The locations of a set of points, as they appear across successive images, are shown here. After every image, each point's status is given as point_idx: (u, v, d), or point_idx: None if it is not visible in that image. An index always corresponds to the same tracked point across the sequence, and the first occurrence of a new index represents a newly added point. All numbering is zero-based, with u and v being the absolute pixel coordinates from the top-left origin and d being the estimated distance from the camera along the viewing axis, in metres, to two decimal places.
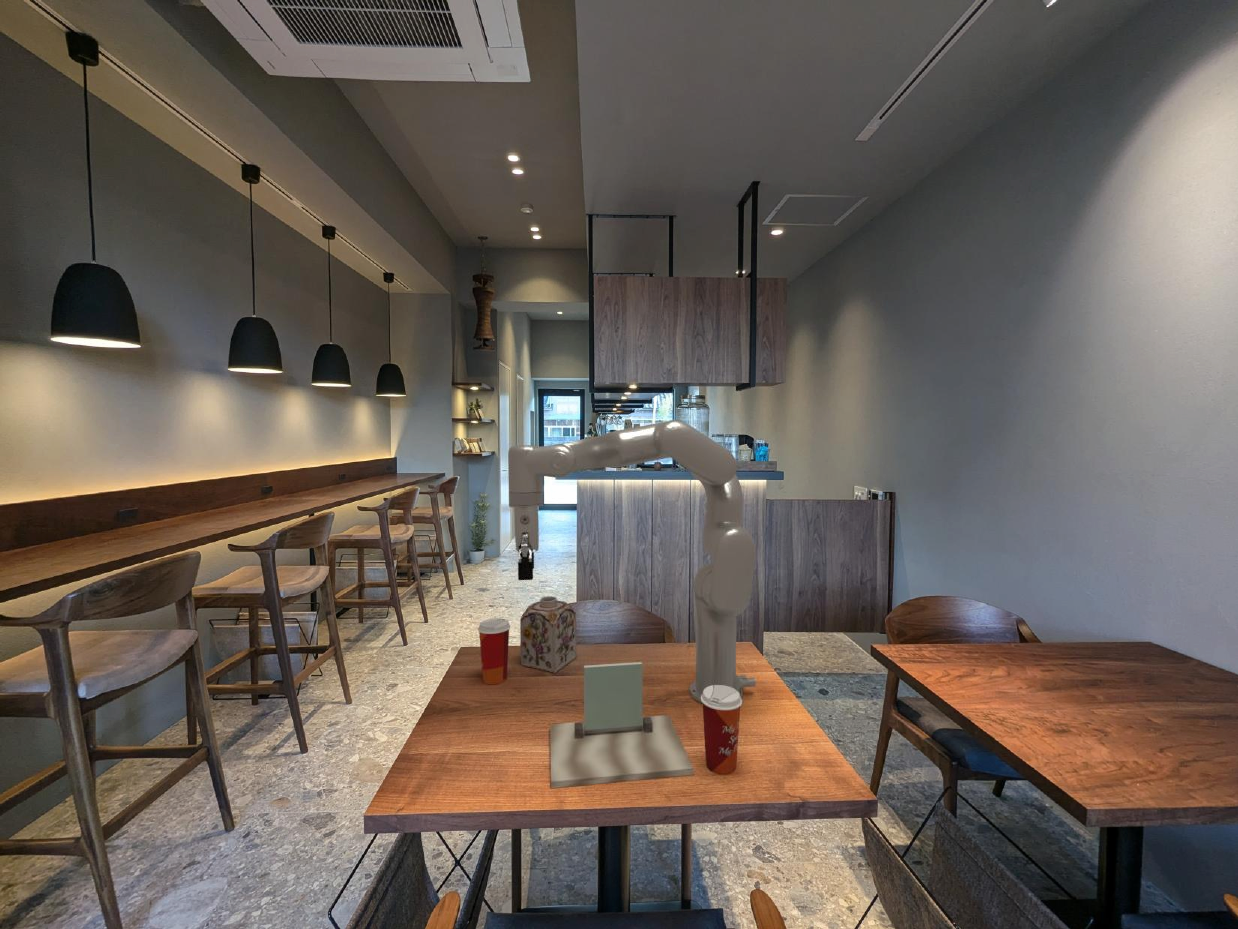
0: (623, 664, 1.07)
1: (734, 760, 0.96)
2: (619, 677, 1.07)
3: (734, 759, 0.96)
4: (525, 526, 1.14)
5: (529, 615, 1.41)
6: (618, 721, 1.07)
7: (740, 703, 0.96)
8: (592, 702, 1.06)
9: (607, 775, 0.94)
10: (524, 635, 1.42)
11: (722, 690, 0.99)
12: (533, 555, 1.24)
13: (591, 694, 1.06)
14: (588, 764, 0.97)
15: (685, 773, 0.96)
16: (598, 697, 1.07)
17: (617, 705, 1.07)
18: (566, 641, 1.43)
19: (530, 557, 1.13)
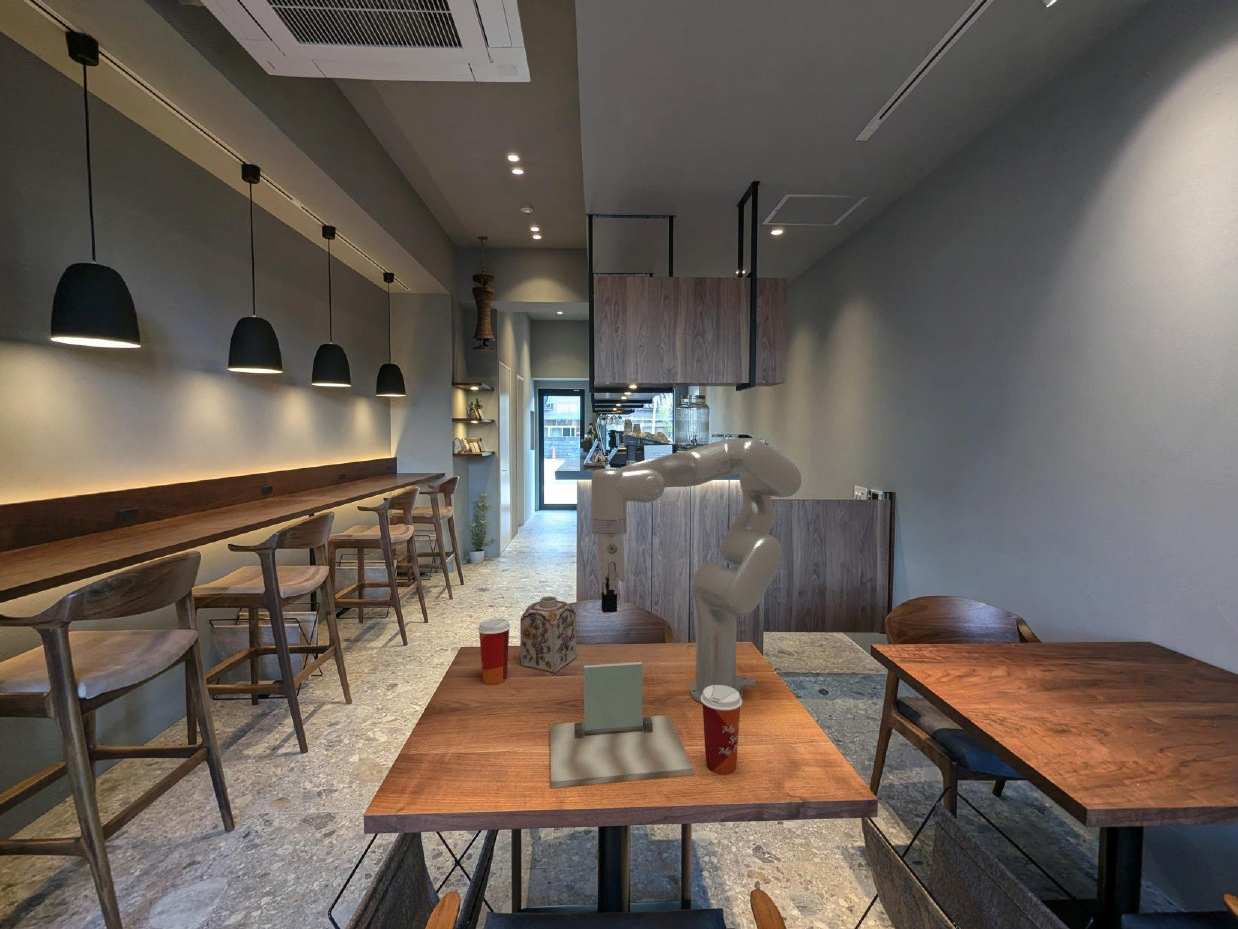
0: (623, 664, 1.07)
1: (734, 760, 0.96)
2: (619, 677, 1.07)
3: (734, 759, 0.96)
4: (612, 556, 1.07)
5: (529, 615, 1.41)
6: (618, 721, 1.07)
7: (740, 703, 0.96)
8: (592, 702, 1.06)
9: (607, 775, 0.94)
10: (524, 635, 1.42)
11: (722, 690, 0.99)
12: None
13: (591, 694, 1.06)
14: (588, 764, 0.97)
15: (685, 773, 0.96)
16: (598, 697, 1.07)
17: (617, 705, 1.07)
18: (566, 641, 1.43)
19: (615, 591, 1.10)
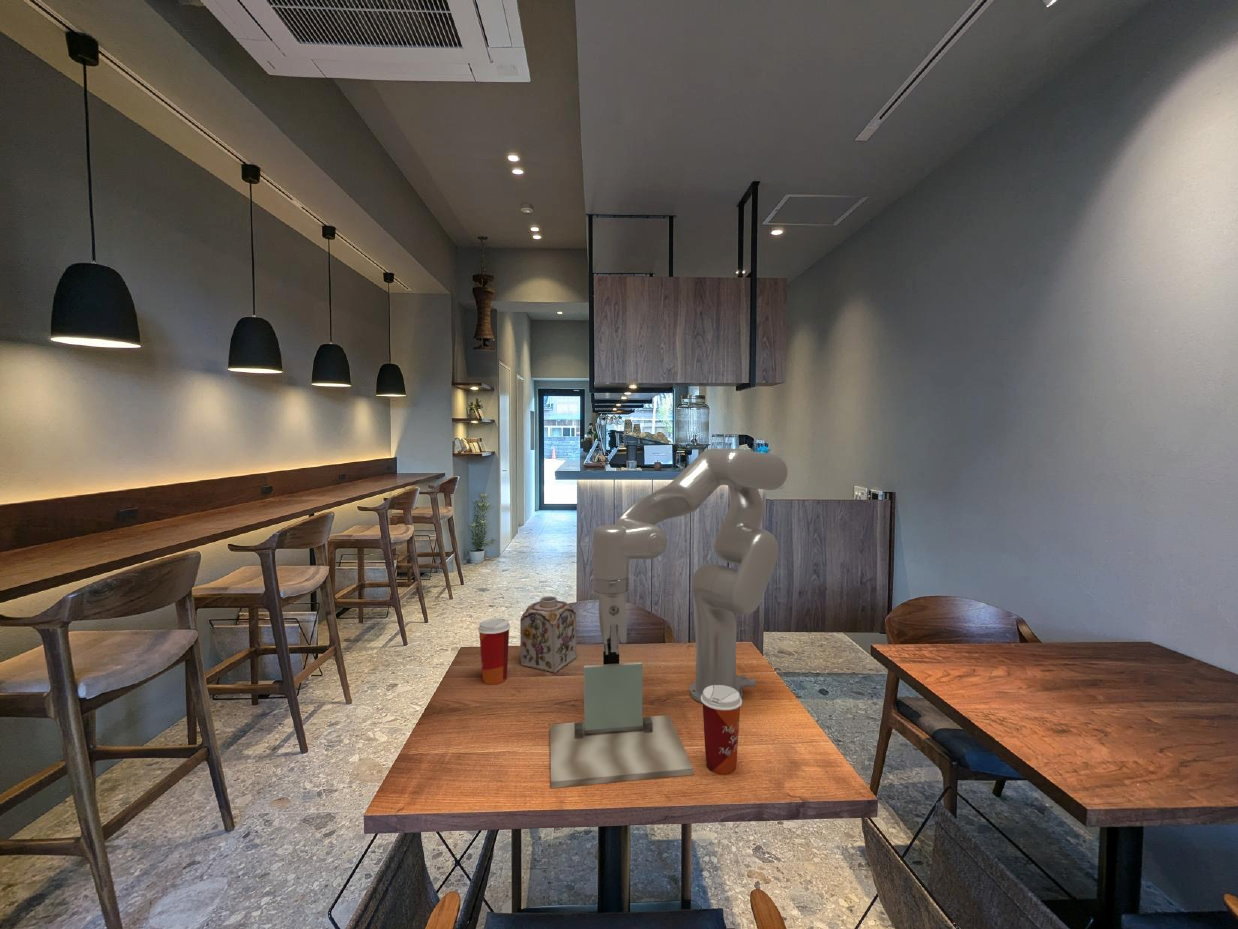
0: (623, 664, 1.07)
1: (734, 760, 0.96)
2: (619, 677, 1.07)
3: (734, 759, 0.96)
4: (614, 617, 1.04)
5: (529, 615, 1.41)
6: (618, 721, 1.07)
7: (740, 703, 0.96)
8: (592, 702, 1.06)
9: (607, 775, 0.94)
10: (524, 635, 1.42)
11: (722, 690, 0.99)
12: None
13: (591, 694, 1.06)
14: (588, 764, 0.97)
15: (685, 773, 0.96)
16: (598, 697, 1.07)
17: (617, 705, 1.07)
18: (566, 641, 1.43)
19: (617, 651, 1.08)
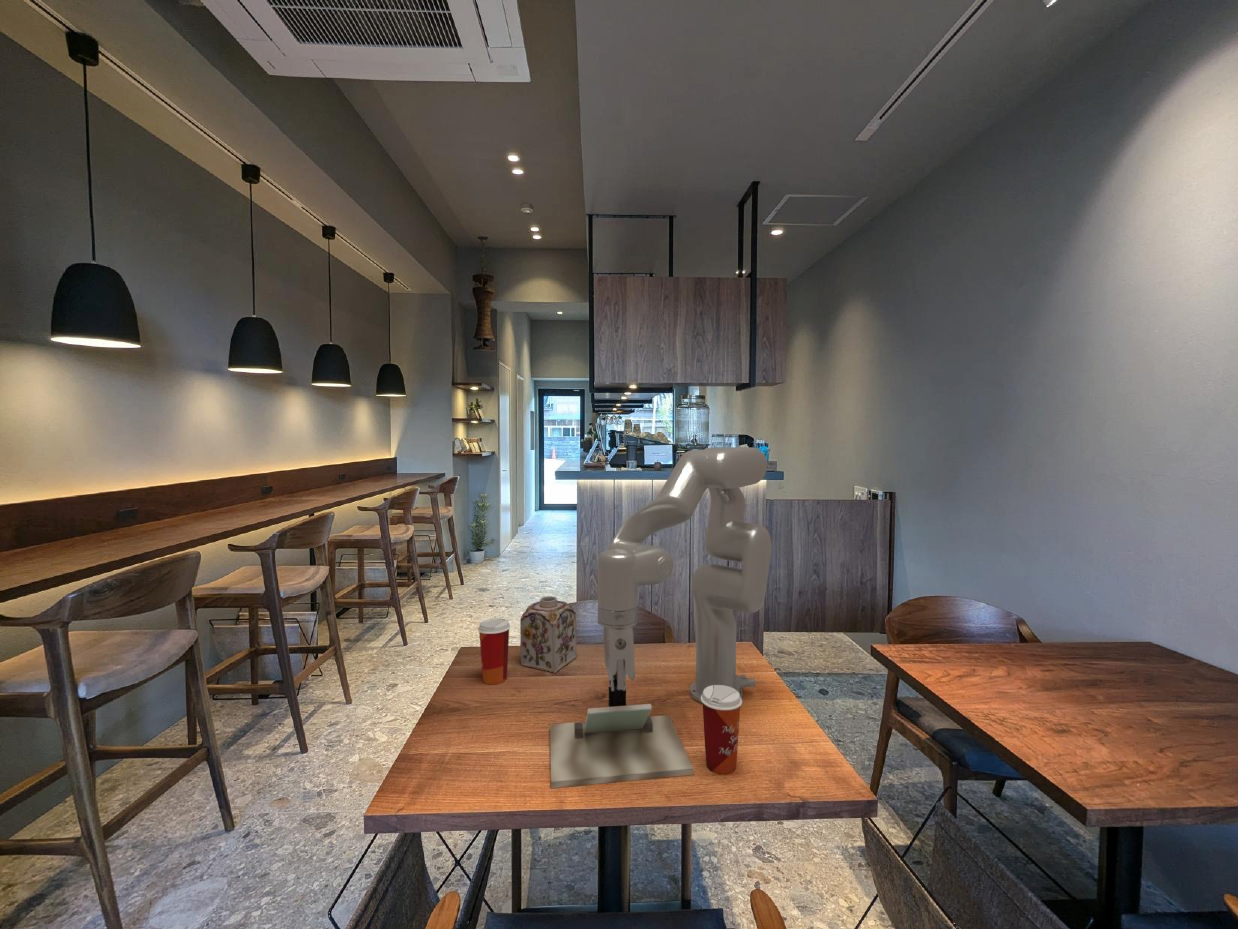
0: (631, 708, 0.98)
1: (734, 760, 0.96)
2: (625, 715, 0.99)
3: (734, 759, 0.96)
4: (621, 652, 0.95)
5: (529, 615, 1.41)
6: (619, 728, 1.06)
7: (740, 703, 0.96)
8: (594, 724, 1.02)
9: (607, 775, 0.94)
10: (524, 635, 1.42)
11: (722, 690, 0.99)
12: None
13: (594, 722, 1.01)
14: (588, 764, 0.97)
15: (685, 773, 0.96)
16: (601, 722, 1.02)
17: (619, 724, 1.04)
18: (566, 641, 1.43)
19: (624, 688, 0.99)
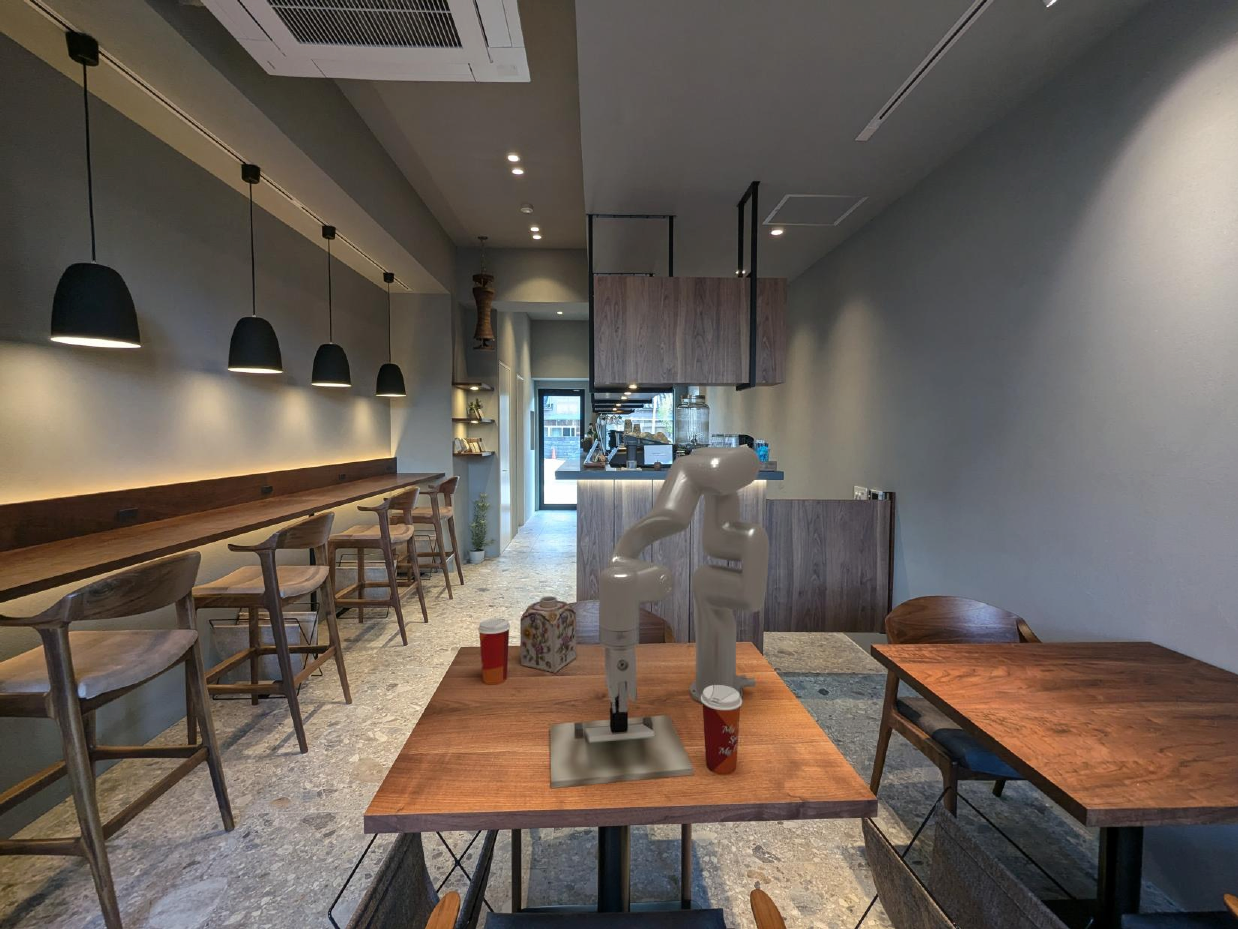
0: (633, 736, 0.96)
1: (734, 760, 0.96)
2: None
3: (734, 759, 0.96)
4: (623, 673, 0.93)
5: (529, 615, 1.41)
6: None
7: (740, 703, 0.96)
8: None
9: (607, 775, 0.94)
10: (524, 635, 1.42)
11: (722, 690, 0.99)
12: None
13: None
14: (588, 764, 0.97)
15: (685, 773, 0.96)
16: None
17: None
18: (566, 641, 1.43)
19: (626, 709, 0.97)
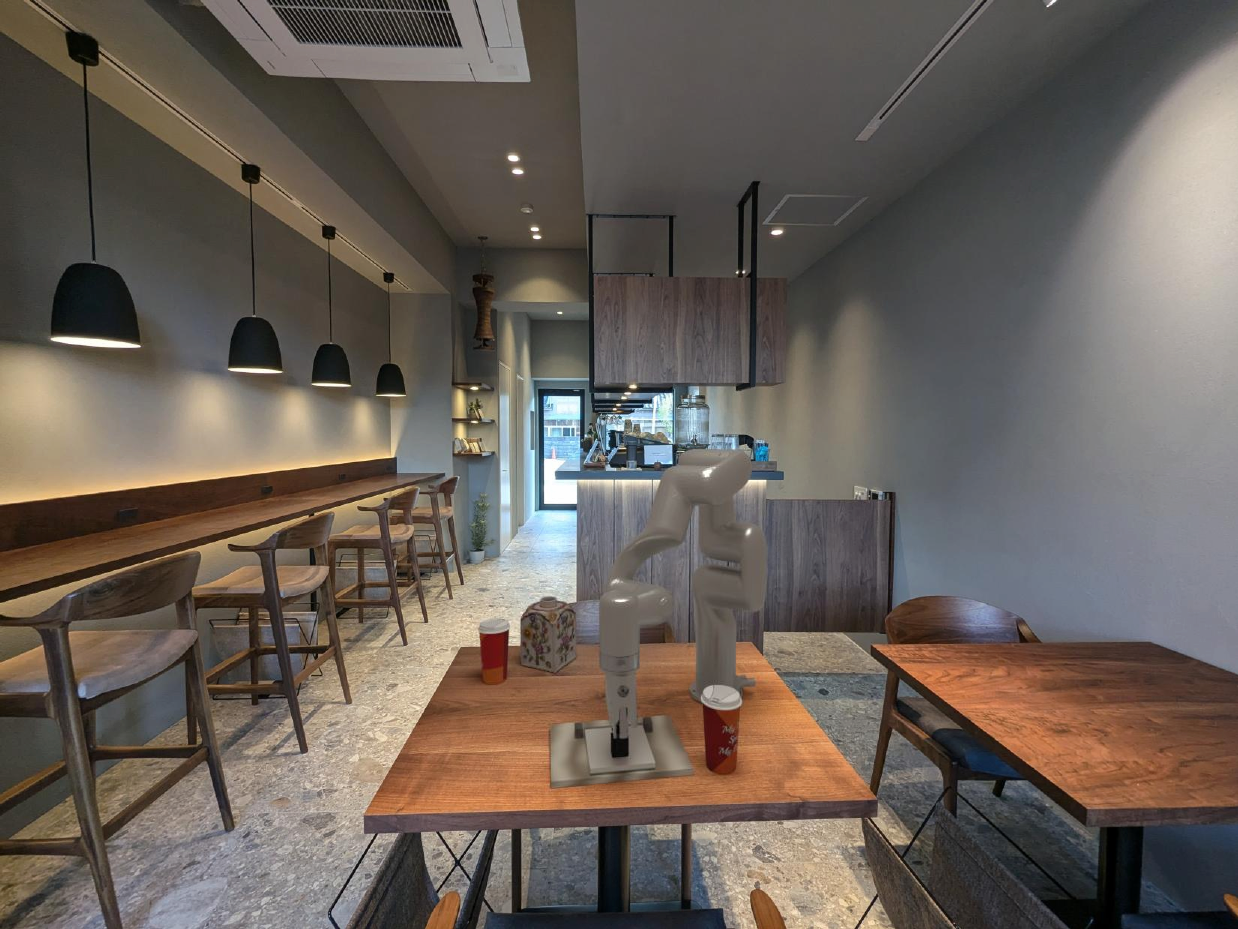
0: (634, 767, 0.95)
1: (734, 760, 0.96)
2: None
3: (734, 759, 0.96)
4: (624, 699, 0.92)
5: (529, 615, 1.41)
6: None
7: (740, 703, 0.96)
8: None
9: (607, 775, 0.94)
10: (524, 635, 1.42)
11: (722, 690, 0.99)
12: None
13: None
14: (588, 764, 0.97)
15: (685, 773, 0.96)
16: None
17: None
18: (566, 641, 1.43)
19: (627, 735, 0.96)
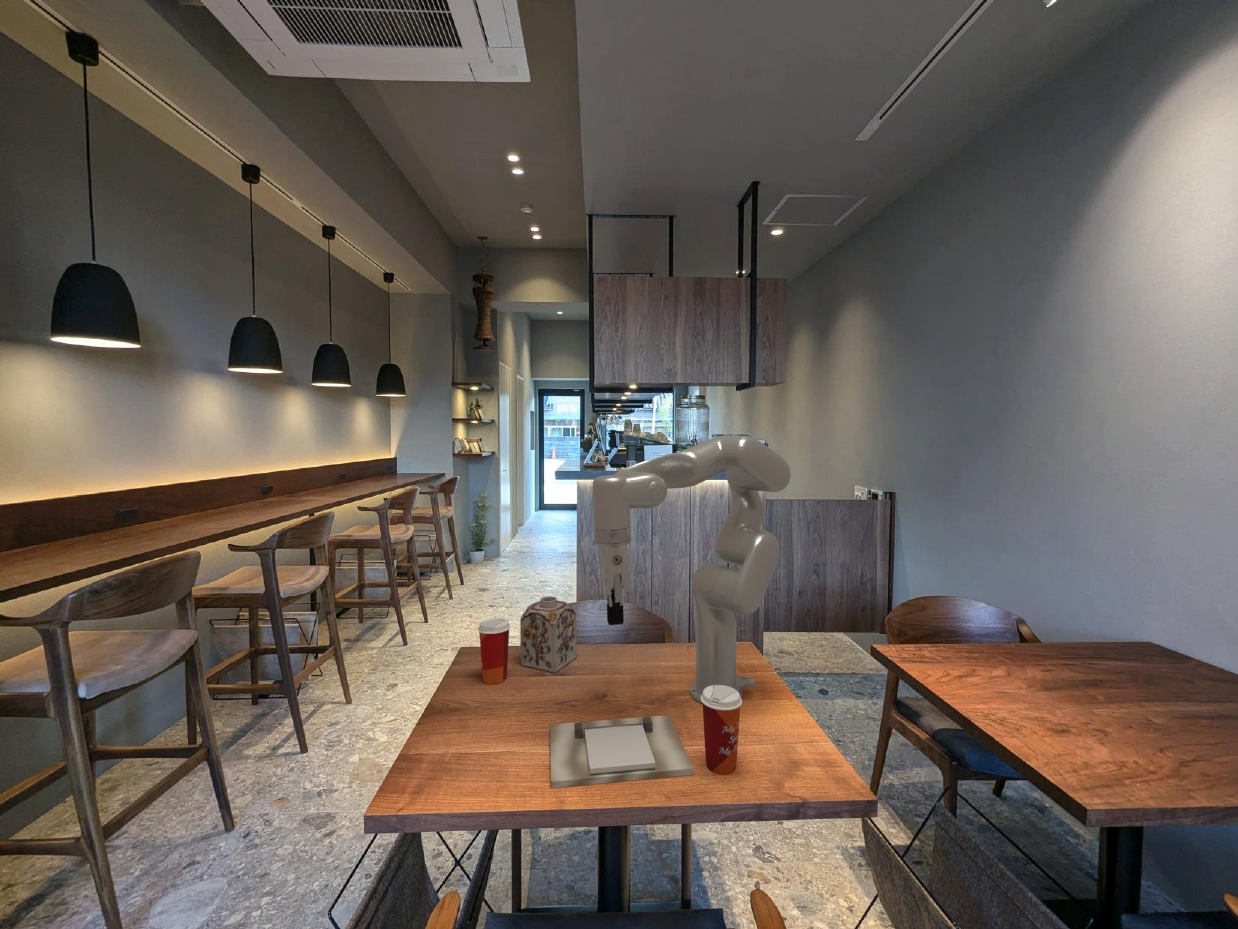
0: (634, 768, 0.95)
1: (734, 760, 0.96)
2: None
3: (734, 759, 0.96)
4: (617, 567, 1.02)
5: (529, 615, 1.41)
6: None
7: (740, 703, 0.96)
8: None
9: (607, 775, 0.94)
10: (524, 635, 1.42)
11: (722, 690, 0.99)
12: None
13: None
14: (588, 764, 0.97)
15: (685, 773, 0.96)
16: None
17: None
18: (566, 641, 1.43)
19: (621, 603, 1.06)
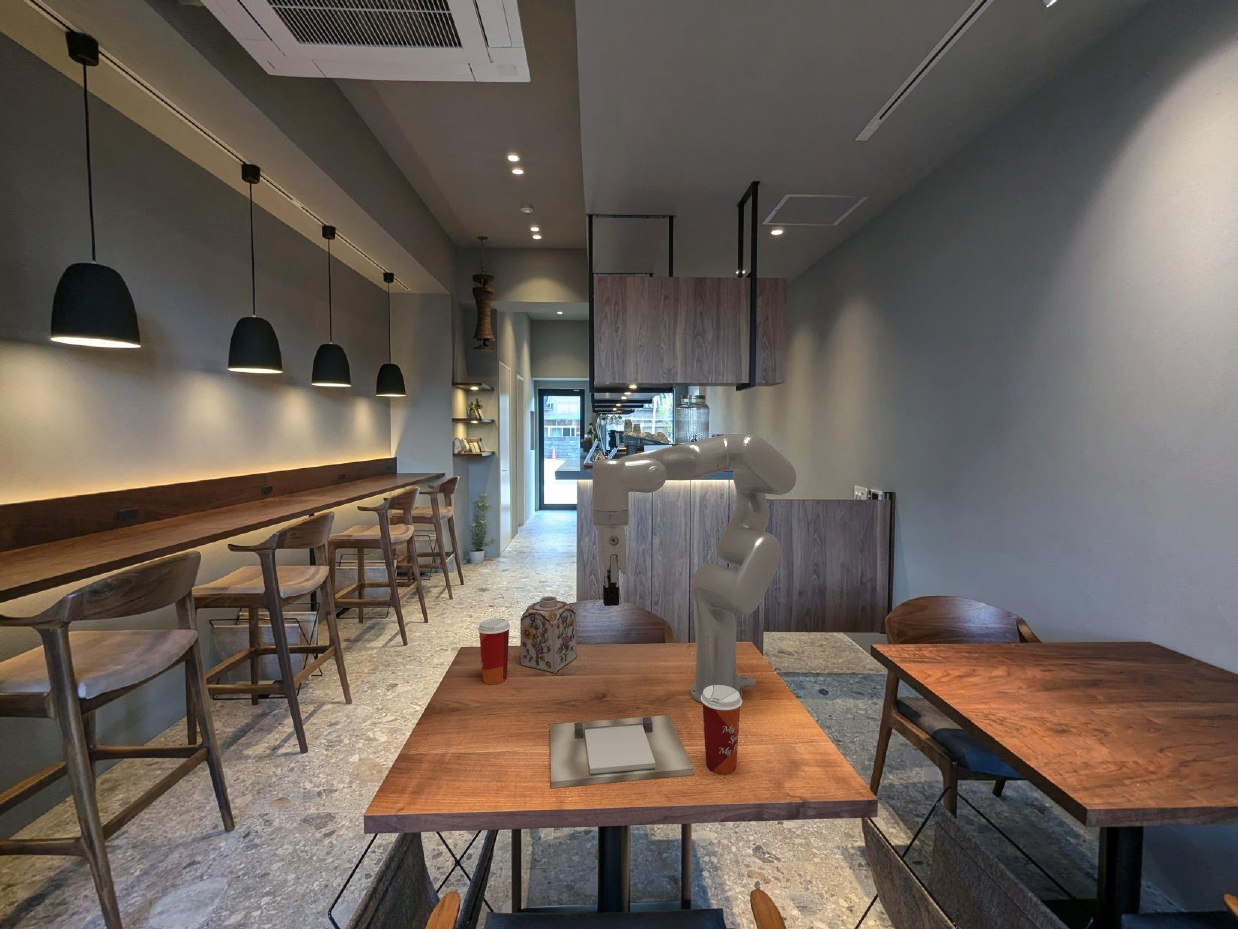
0: (634, 768, 0.95)
1: (734, 760, 0.96)
2: None
3: (734, 759, 0.96)
4: (614, 548, 1.04)
5: (529, 615, 1.41)
6: None
7: (740, 703, 0.96)
8: None
9: (607, 775, 0.94)
10: (524, 635, 1.42)
11: (722, 690, 0.99)
12: None
13: None
14: (588, 764, 0.97)
15: (685, 773, 0.96)
16: None
17: None
18: (566, 641, 1.43)
19: (617, 584, 1.08)
